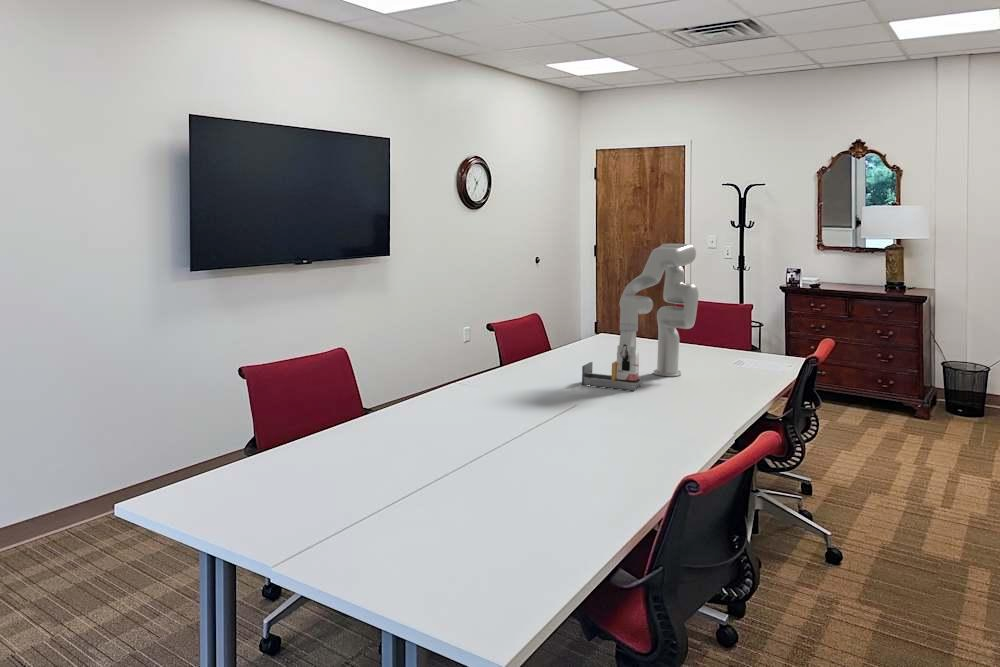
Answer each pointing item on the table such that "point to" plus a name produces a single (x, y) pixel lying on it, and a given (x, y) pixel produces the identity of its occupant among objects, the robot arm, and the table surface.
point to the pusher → (614, 371)
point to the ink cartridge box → (634, 366)
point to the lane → (606, 380)
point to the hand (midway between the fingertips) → (627, 368)
